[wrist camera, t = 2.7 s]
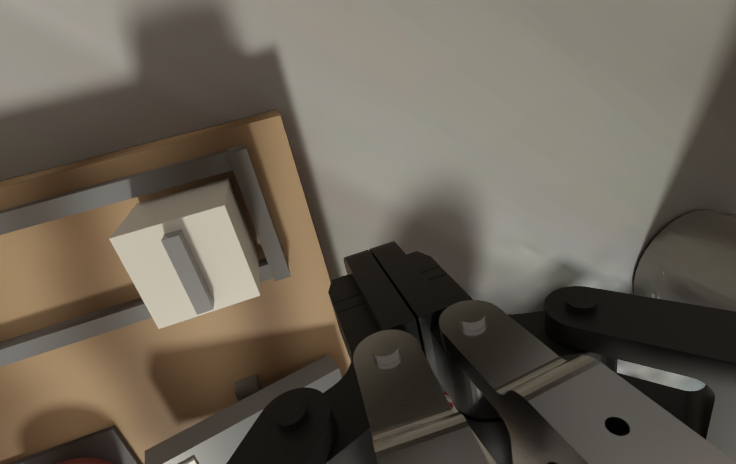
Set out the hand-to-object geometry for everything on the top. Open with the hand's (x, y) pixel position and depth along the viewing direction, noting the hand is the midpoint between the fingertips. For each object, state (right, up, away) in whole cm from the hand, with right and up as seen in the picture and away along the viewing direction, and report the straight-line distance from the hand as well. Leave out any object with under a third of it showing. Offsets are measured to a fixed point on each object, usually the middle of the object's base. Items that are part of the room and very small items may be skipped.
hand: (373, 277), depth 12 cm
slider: (-8, +1, +7) cm, 11 cm away
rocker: (-6, -9, +10) cm, 15 cm away
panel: (-12, -4, +11) cm, 17 cm away
